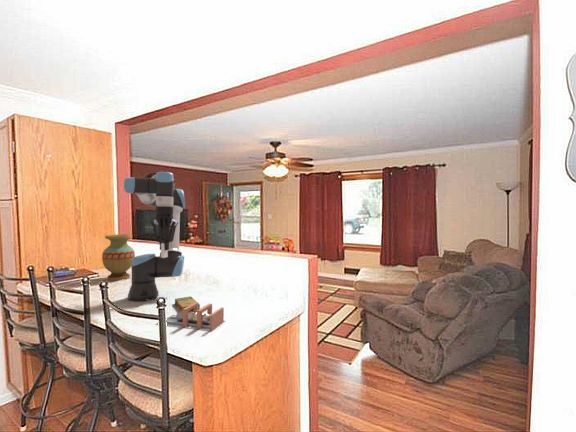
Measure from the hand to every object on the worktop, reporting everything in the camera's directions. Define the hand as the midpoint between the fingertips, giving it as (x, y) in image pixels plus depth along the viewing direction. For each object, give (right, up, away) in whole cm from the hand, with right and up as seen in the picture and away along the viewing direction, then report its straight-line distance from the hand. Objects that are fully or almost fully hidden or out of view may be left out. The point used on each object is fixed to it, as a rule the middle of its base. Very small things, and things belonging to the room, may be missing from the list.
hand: (164, 257), depth 139 cm
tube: (+18, -26, -12) cm, 34 cm away
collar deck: (+16, -27, -12) cm, 34 cm away
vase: (-61, -25, +71) cm, 96 cm away
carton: (+7, -27, +9) cm, 29 cm away
